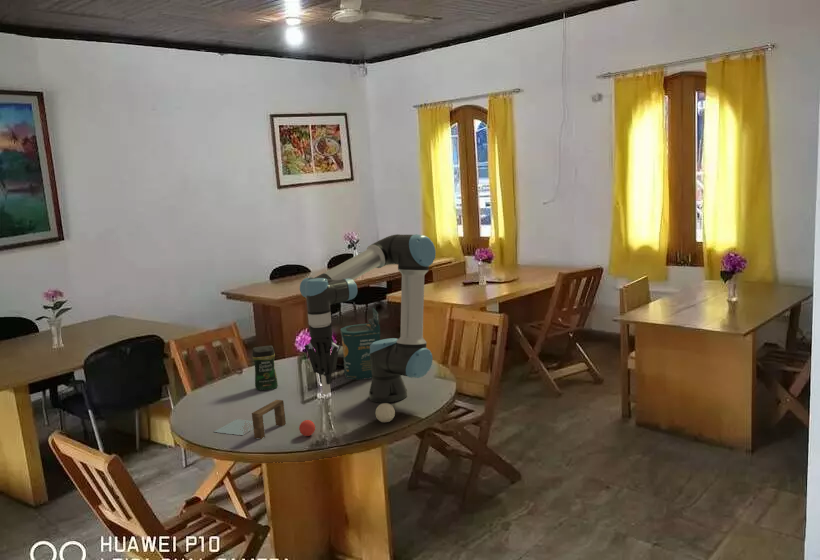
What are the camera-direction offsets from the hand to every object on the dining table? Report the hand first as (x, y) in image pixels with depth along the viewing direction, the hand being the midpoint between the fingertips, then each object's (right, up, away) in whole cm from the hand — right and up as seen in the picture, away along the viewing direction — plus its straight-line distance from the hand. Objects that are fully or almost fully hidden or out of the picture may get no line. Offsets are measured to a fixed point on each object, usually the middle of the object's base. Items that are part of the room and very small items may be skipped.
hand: (326, 392), depth 237 cm
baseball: (+20, -13, +15) cm, 28 cm away
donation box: (+7, -4, +76) cm, 77 cm away
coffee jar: (-34, -9, +65) cm, 74 cm away
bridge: (-22, -16, +14) cm, 30 cm away
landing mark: (-34, -16, +20) cm, 43 cm away
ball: (-8, -13, +6) cm, 17 cm away
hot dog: (-5, -2, +93) cm, 94 cm away
